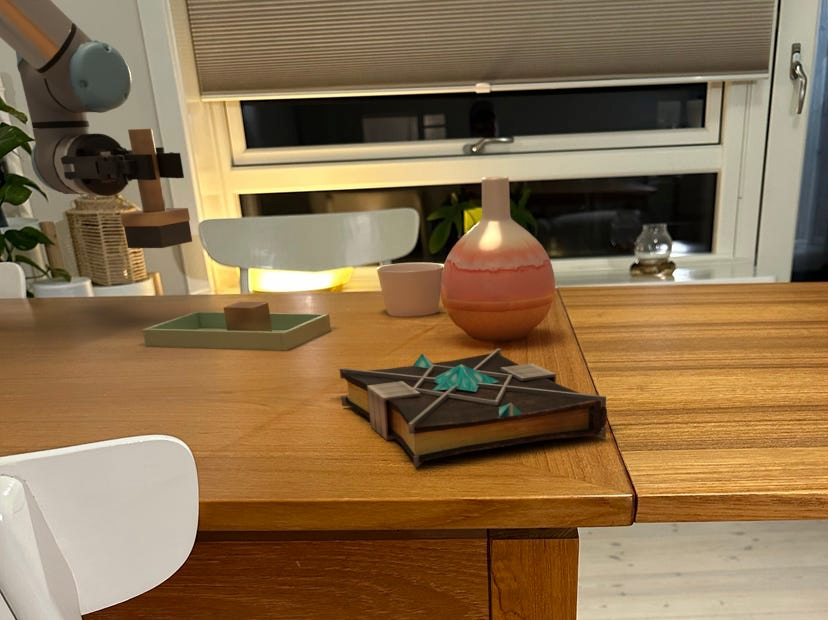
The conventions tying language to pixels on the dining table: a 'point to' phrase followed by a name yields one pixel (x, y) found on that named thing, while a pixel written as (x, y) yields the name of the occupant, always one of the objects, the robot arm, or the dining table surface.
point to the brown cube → (248, 316)
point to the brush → (153, 206)
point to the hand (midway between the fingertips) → (165, 166)
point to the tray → (236, 332)
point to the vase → (497, 274)
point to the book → (471, 405)
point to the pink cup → (411, 288)
